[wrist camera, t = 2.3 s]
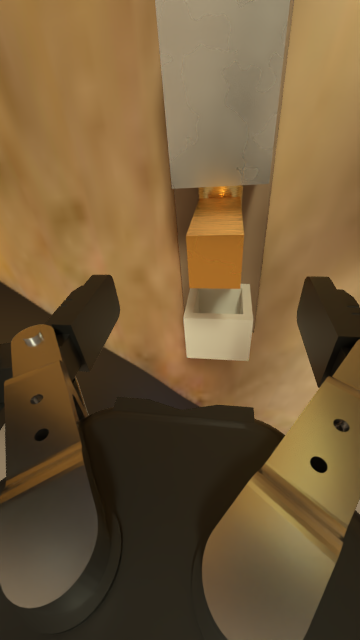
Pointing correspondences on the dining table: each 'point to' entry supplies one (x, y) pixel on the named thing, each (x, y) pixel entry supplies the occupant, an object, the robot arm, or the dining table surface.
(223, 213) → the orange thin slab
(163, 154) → the dining table surface
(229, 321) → the socket
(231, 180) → the grey block
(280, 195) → the dining table surface
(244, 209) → the base board
